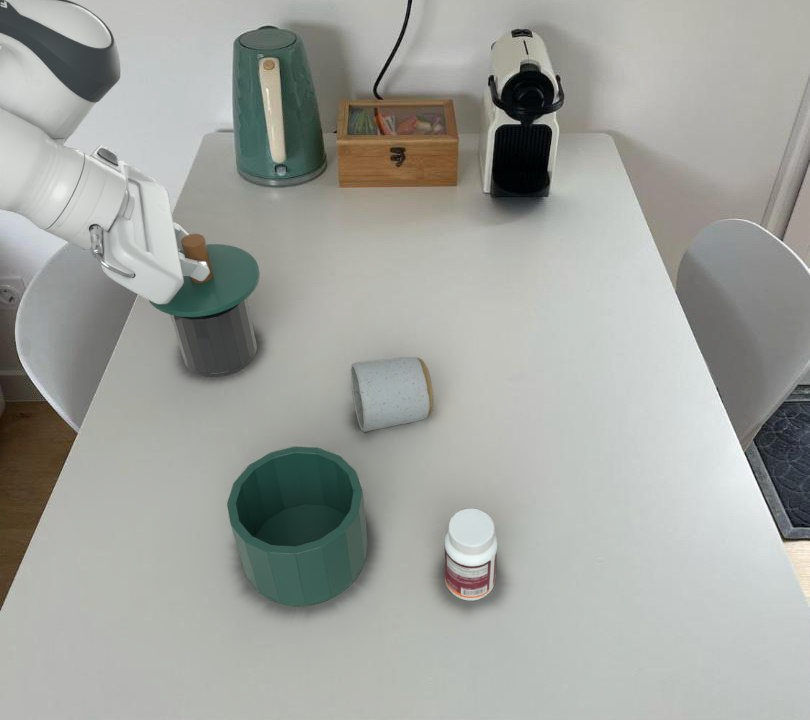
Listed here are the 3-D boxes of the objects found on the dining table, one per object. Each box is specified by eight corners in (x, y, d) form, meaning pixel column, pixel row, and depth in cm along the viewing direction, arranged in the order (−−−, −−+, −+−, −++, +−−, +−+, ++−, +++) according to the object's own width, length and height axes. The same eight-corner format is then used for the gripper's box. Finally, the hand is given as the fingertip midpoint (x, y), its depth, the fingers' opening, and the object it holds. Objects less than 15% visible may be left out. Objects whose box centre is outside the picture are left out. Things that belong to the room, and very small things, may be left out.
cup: (188, 384, 97) (170, 326, 91) (180, 337, 103) (164, 280, 97) (262, 367, 99) (250, 309, 92) (250, 322, 105) (238, 265, 99)
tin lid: (151, 332, 88) (136, 285, 84) (143, 265, 97) (129, 220, 93) (269, 306, 90) (260, 260, 86) (250, 244, 100) (242, 199, 95)
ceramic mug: (437, 430, 90) (436, 380, 85) (365, 446, 88) (360, 396, 83) (412, 369, 98) (410, 319, 92) (345, 383, 96) (339, 333, 91)
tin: (254, 622, 74) (238, 569, 68) (235, 519, 82) (219, 464, 76) (381, 585, 76) (376, 531, 70) (350, 488, 84) (343, 434, 79)
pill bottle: (461, 549, 78) (463, 495, 73) (504, 573, 76) (509, 520, 71) (434, 585, 76) (433, 532, 70) (477, 611, 74) (480, 559, 68)
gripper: (109, 235, 75) (233, 297, 83) (102, 137, 89) (208, 198, 98) (74, 284, 77) (198, 339, 86) (73, 180, 92) (179, 236, 100)
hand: (204, 263), depth 92 cm, fingers closed on tin lid, 2 cm apart
